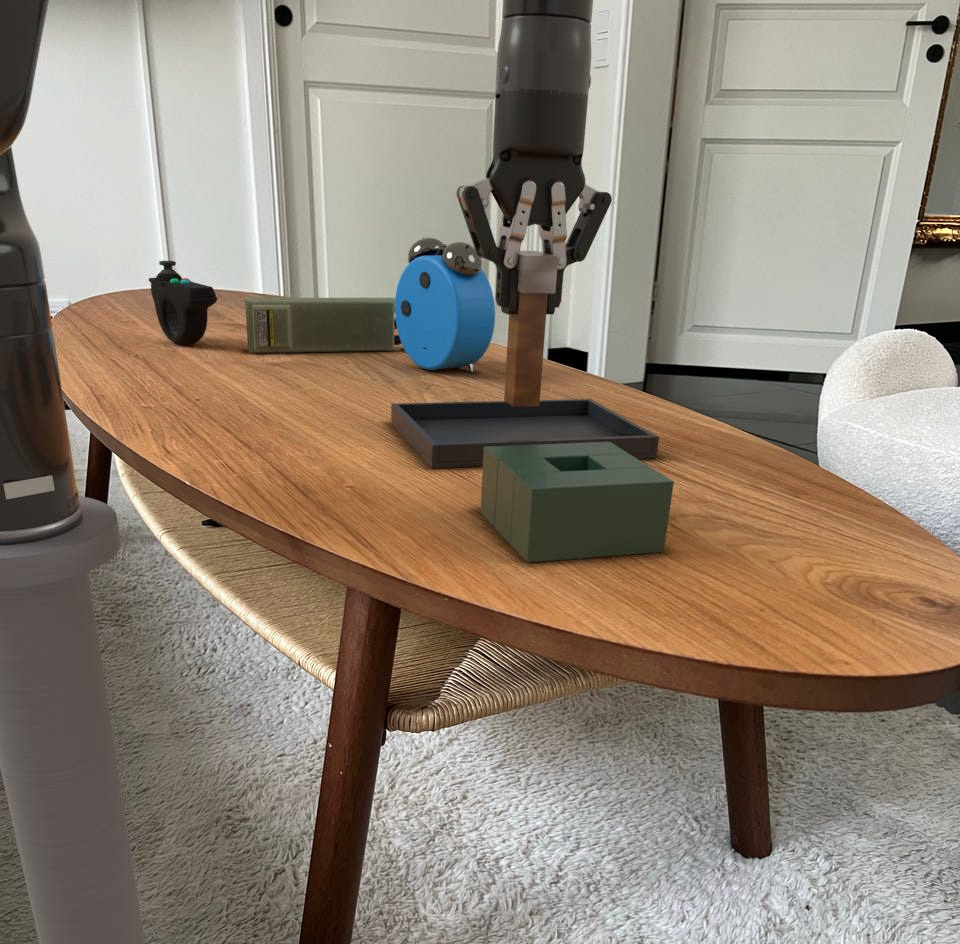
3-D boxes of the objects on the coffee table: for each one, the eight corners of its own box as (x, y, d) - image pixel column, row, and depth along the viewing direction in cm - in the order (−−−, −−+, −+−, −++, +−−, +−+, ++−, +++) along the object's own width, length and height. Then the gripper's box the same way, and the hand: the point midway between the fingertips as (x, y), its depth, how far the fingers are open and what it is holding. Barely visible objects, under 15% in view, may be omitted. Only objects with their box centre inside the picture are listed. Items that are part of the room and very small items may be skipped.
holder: (527, 562, 61) (532, 489, 59) (480, 512, 69) (483, 446, 67) (663, 552, 64) (674, 481, 61) (602, 505, 72) (610, 441, 70)
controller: (180, 336, 129) (172, 258, 124) (225, 351, 121) (219, 268, 117) (150, 338, 126) (142, 259, 122) (194, 353, 118) (187, 269, 114)
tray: (431, 468, 79) (432, 445, 78) (391, 423, 91) (391, 403, 91) (656, 458, 85) (659, 436, 84) (589, 417, 98) (590, 398, 97)
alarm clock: (493, 376, 115) (501, 244, 108) (454, 380, 111) (459, 244, 104) (429, 358, 124) (432, 235, 117) (391, 361, 120) (392, 235, 113)
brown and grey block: (515, 410, 84) (525, 255, 78) (497, 398, 88) (505, 250, 82) (546, 409, 85) (558, 256, 79) (527, 397, 89) (537, 250, 83)
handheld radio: (247, 349, 123) (428, 346, 131) (250, 355, 120) (435, 351, 128) (243, 296, 119) (429, 296, 128) (247, 300, 117) (437, 300, 125)
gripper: (602, 97, 80) (582, 307, 88) (445, 84, 76) (439, 306, 84) (641, 92, 74) (617, 320, 82) (473, 79, 70) (464, 319, 78)
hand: (527, 312), depth 83 cm, fingers closed on brown and grey block, 3 cm apart
